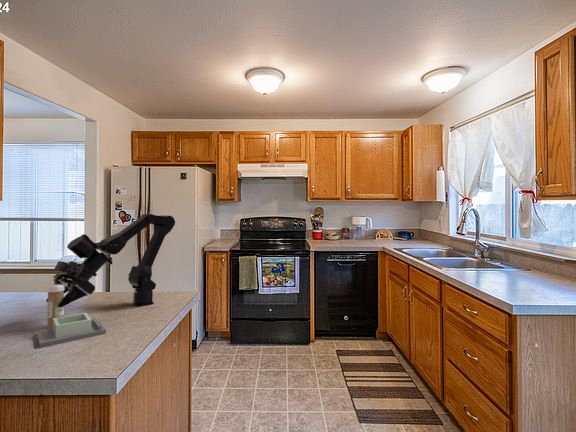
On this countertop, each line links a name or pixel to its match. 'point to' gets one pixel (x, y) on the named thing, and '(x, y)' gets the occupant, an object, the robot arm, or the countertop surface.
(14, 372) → the countertop surface
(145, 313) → the countertop surface
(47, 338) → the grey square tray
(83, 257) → the robot arm
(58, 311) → the sprinkles bottle
